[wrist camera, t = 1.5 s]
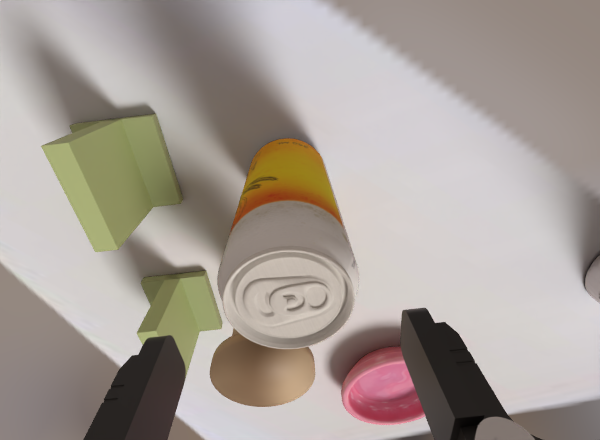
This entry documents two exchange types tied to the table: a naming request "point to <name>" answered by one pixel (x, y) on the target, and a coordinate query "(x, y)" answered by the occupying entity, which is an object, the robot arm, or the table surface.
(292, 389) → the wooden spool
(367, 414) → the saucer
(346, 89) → the table surface
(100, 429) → the robot arm
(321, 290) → the beer can
